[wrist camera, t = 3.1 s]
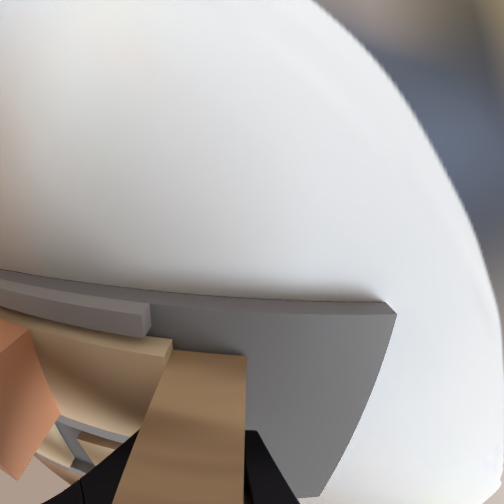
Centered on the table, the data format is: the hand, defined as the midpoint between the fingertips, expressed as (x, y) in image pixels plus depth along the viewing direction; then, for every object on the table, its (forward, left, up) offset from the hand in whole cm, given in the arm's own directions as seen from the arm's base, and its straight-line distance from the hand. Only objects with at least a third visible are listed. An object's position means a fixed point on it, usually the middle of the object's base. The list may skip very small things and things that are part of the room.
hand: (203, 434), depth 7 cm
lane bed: (-3, +4, -3) cm, 6 cm away
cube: (0, +9, -1) cm, 9 cm away
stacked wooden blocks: (0, +5, -2) cm, 6 cm away
